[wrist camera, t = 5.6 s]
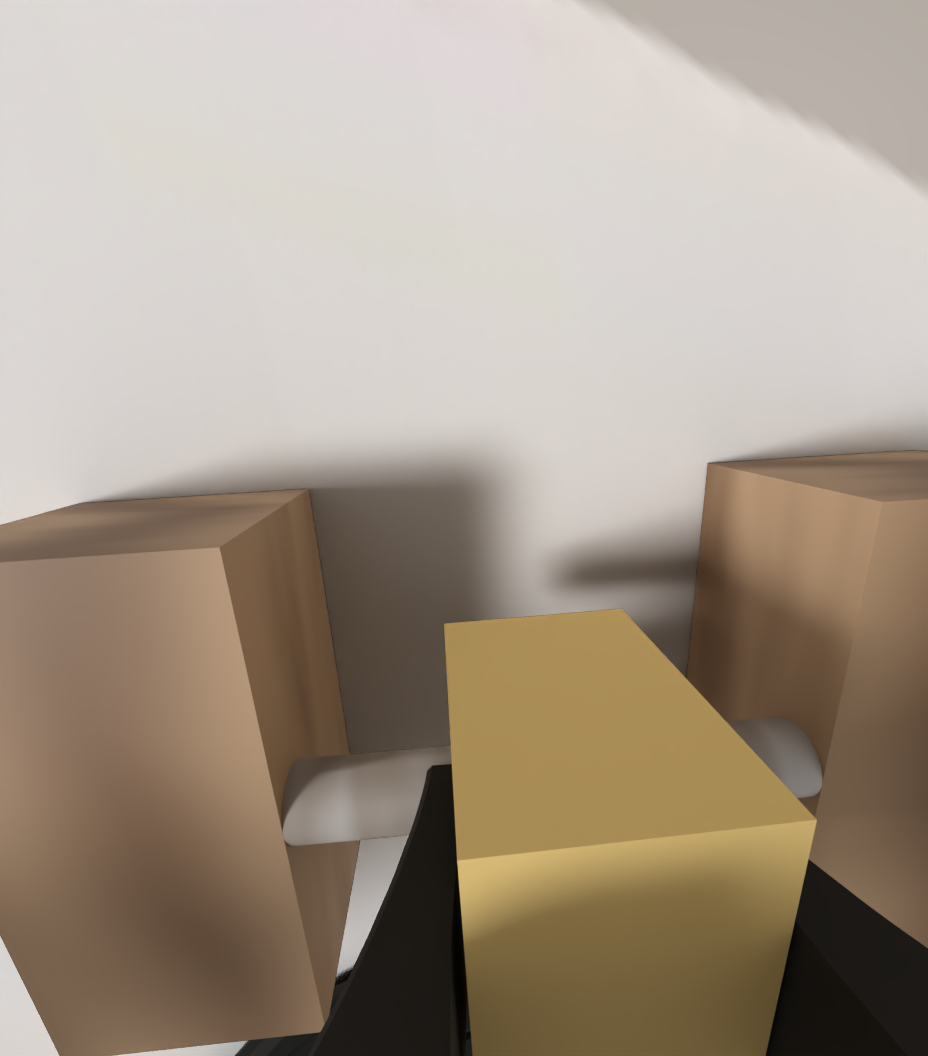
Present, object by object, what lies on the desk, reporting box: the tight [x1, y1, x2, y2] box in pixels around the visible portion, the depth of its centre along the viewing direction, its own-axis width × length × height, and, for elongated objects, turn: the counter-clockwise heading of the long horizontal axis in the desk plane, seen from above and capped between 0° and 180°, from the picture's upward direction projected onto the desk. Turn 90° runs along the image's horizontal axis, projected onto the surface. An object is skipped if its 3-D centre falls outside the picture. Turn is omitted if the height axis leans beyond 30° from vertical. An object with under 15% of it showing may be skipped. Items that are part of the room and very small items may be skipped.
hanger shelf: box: [0, 450, 928, 1056], centre depth 11 cm, size 23×12×5 cm, turn 93°
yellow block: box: [444, 609, 817, 1056], centre depth 8 cm, size 4×6×5 cm, turn 3°
